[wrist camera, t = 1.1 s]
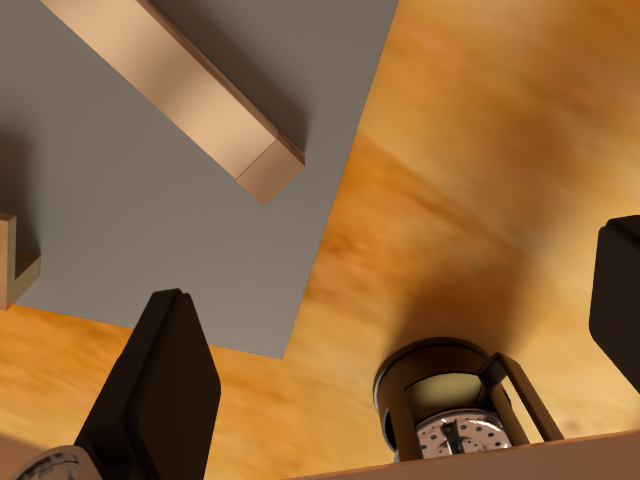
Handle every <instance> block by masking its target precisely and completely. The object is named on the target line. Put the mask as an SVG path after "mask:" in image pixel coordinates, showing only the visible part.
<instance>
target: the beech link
mask: <svg viewBox="0 0 640 480" xmlns="http://www.w3.org/2000/svg"><path fill="white" fill-rule="evenodd" d="M40 1H41V2H42V3H43V4H44V5H45V6H46V7H48V8H49V9H50V10H51V11H52V12H53V13H54V14H55V15H56V16H57V17H59V18H60V19H61V20H62V21H63V22H64V23H65V24H66V25H67V26H68V27H69V28H71V29H72V30H73V31H74V32H75V33H76V34H77V35H78V36H79V37H80V38H81V39H83V40H84V41H85V42H86V43H87V44H88V45H89V46H90V47H91V48H92V49H94V50H95V51H96V52H97V53H98V54H99V55H100V56H101V57H102V58H103V59H104V60H106V61H107V62H108V63H109V64H110V65H111V66H112V67H113V68H114V69H115V70H117V71H118V72H119V73H120V74H121V75H122V76H123V77H124V78H125V79H126V80H127V81H129V82H130V83H131V84H132V85H133V86H134V87H135V88H136V89H137V90H138V91H140V92H141V93H142V94H143V95H144V96H145V97H146V98H147V99H148V100H149V101H150V102H152V103H153V104H154V105H155V106H156V107H157V108H158V109H159V110H160V111H161V112H163V113H164V114H165V115H166V116H167V117H168V118H169V119H170V120H171V121H172V122H173V123H175V124H176V125H177V126H178V127H179V128H180V129H181V130H182V131H183V132H184V133H186V134H187V135H188V136H189V137H190V138H191V139H192V140H193V141H194V142H195V143H196V144H198V145H199V146H200V147H201V148H202V149H203V150H204V151H205V152H206V153H207V154H209V155H210V156H211V157H212V158H213V159H214V160H215V161H216V162H217V163H218V164H219V165H221V166H222V167H223V168H224V169H225V170H226V171H227V172H228V173H229V174H230V175H231V176H233V177H234V178H235V179H236V180H235V181H236V182H237V183H238V184H240V185H241V186H242V187H243V188H244V189H245V190H246V191H247V192H248V193H249V194H251V195H252V196H253V197H254V198H255V199H256V200H257V201H258V202H259V203H260V204H261V205H263V206H265V205H266V204H267V203H268V202H269V201H270V200H271V199H272V198H273V197H274V196H275V195H276V194H277V193H278V192H279V191H280V190H282V189H283V188H284V187H285V186H286V185H287V184H288V183H289V182H290V181H291V180H292V179H293V178H294V177H295V176H296V175H297V174H298V173H300V172H301V171H302V170H303V169H304V168H305V154H304V153H303V152H302V151H301V150H300V149H299V148H298V147H297V146H296V145H295V144H294V143H293V142H292V141H291V140H290V139H289V138H288V137H287V136H286V135H285V134H284V133H283V132H282V131H281V130H280V129H279V130H278V129H277V128H276V127H275V126H274V125H273V124H272V123H271V122H270V121H269V120H268V119H267V118H266V117H265V116H264V115H263V114H262V113H261V112H260V111H259V110H258V109H257V108H256V107H255V106H254V105H253V104H252V103H251V102H250V101H249V100H248V99H247V98H246V97H245V96H244V95H243V94H242V93H241V92H240V91H239V90H238V89H237V88H236V87H235V86H234V85H233V84H232V83H231V82H230V81H229V80H228V79H227V78H226V77H225V76H224V75H223V74H222V73H221V72H220V71H219V70H218V69H217V68H216V67H215V66H214V65H213V64H212V63H211V62H210V61H209V60H208V59H207V58H206V57H205V56H204V55H203V54H202V53H201V52H200V51H199V50H198V49H197V48H196V47H195V46H194V45H193V44H192V43H191V42H190V41H189V40H188V39H187V38H186V37H185V36H184V35H183V34H182V33H181V32H180V31H179V30H178V29H177V28H176V27H175V26H174V25H173V24H172V23H171V22H170V21H169V20H168V19H167V18H166V17H165V16H164V15H163V14H162V13H161V12H160V11H159V10H158V9H157V8H156V7H155V6H154V5H153V4H152V3H151V2H150V1H149V0H40Z"/></svg>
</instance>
